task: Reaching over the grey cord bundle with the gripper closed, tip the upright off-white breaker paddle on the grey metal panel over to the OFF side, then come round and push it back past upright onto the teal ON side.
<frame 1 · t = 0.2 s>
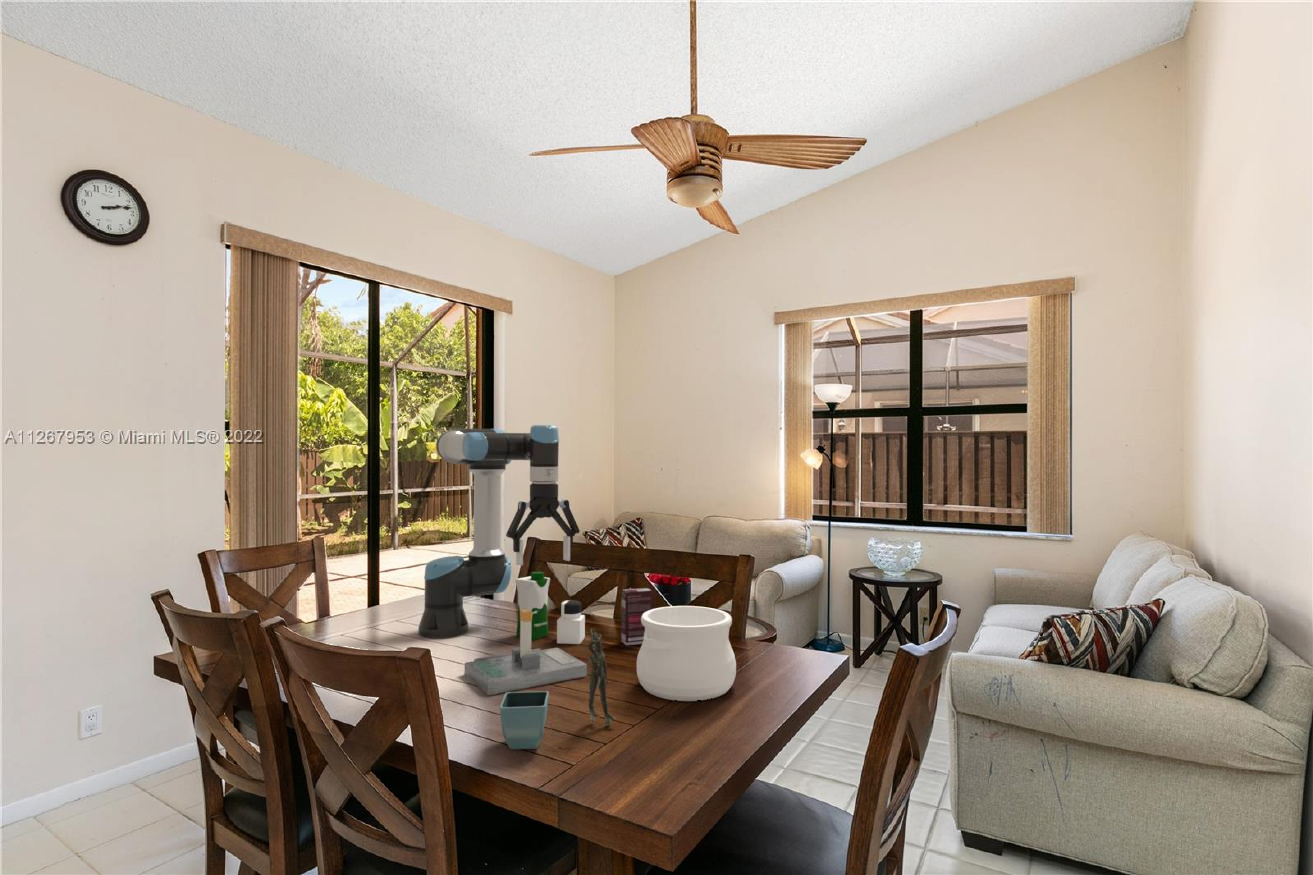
hand: (543, 562, 184), 28 cm above the table, fingers open, 13 cm apart
pot: (686, 688, 169), on the table
panel: (525, 675, 178), on the table
milk carton: (532, 637, 215), on the table
medicine bottle: (571, 641, 210), on the table
statue: (600, 727, 145), on the table
lever: (525, 635, 178), point 10 cm above the table, hinge at 0.0°
flower pot: (524, 745, 136), on the table
supplement box: (636, 643, 208), on the table
cords: (509, 664, 187), on the table
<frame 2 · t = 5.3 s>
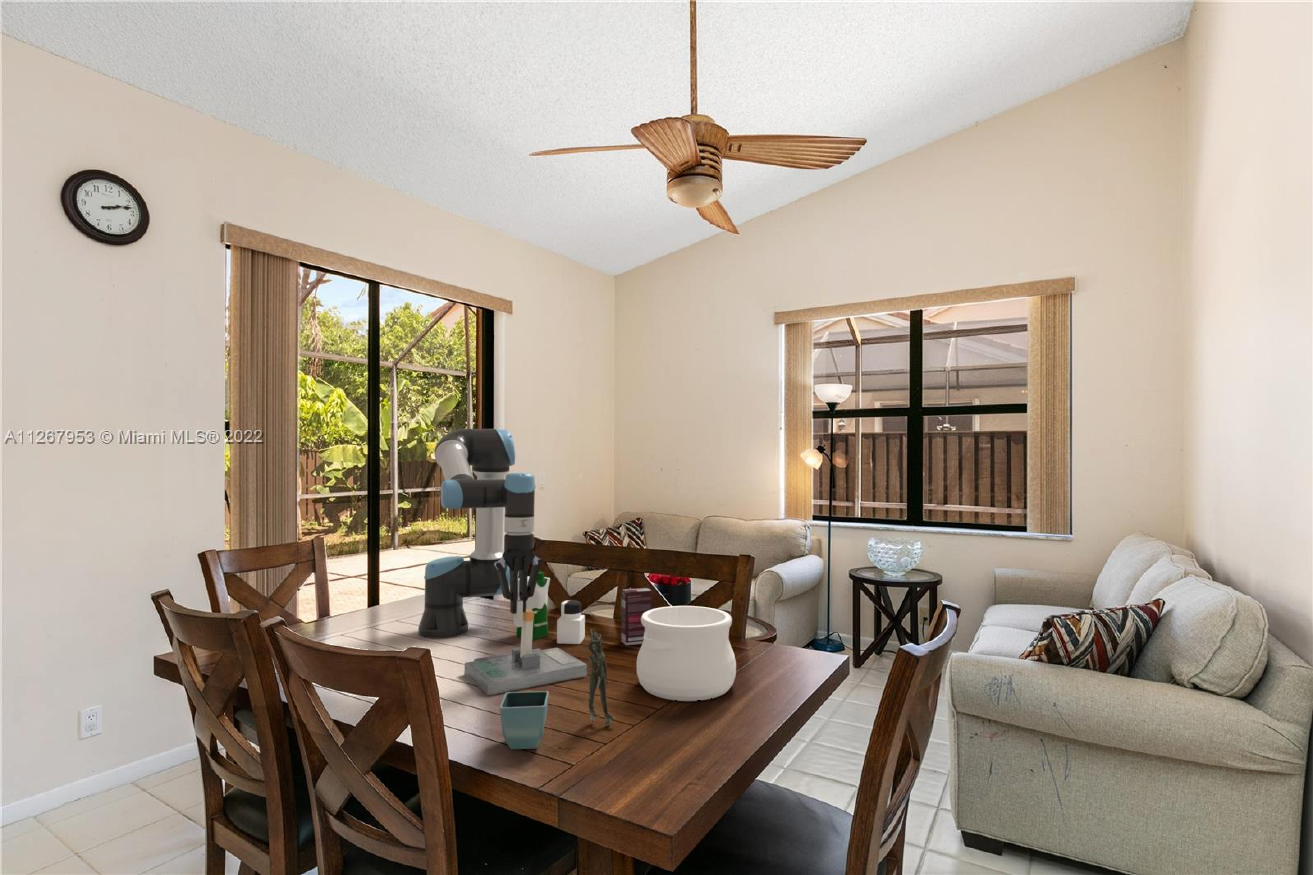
hand: (517, 625, 177), 13 cm above the table, fingers closed
lever: (526, 635, 178), point 10 cm above the table, hinge at -2.8°, touching gripper
everything else where it was.
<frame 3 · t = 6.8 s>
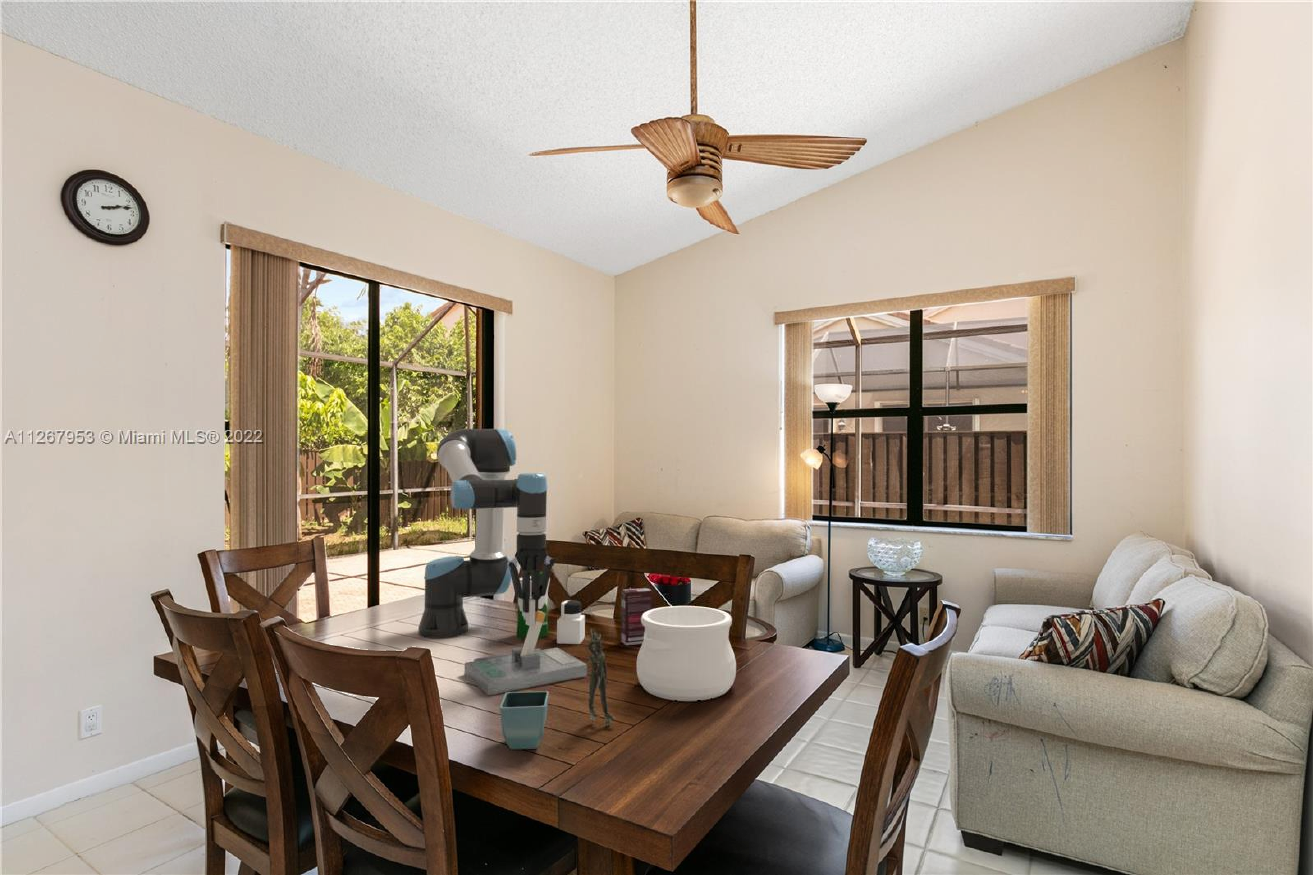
hand: (530, 624, 178), 13 cm above the table, fingers closed
lever: (532, 636, 179), point 10 cm above the table, hinge at -19.0°, touching gripper
everything else where it was.
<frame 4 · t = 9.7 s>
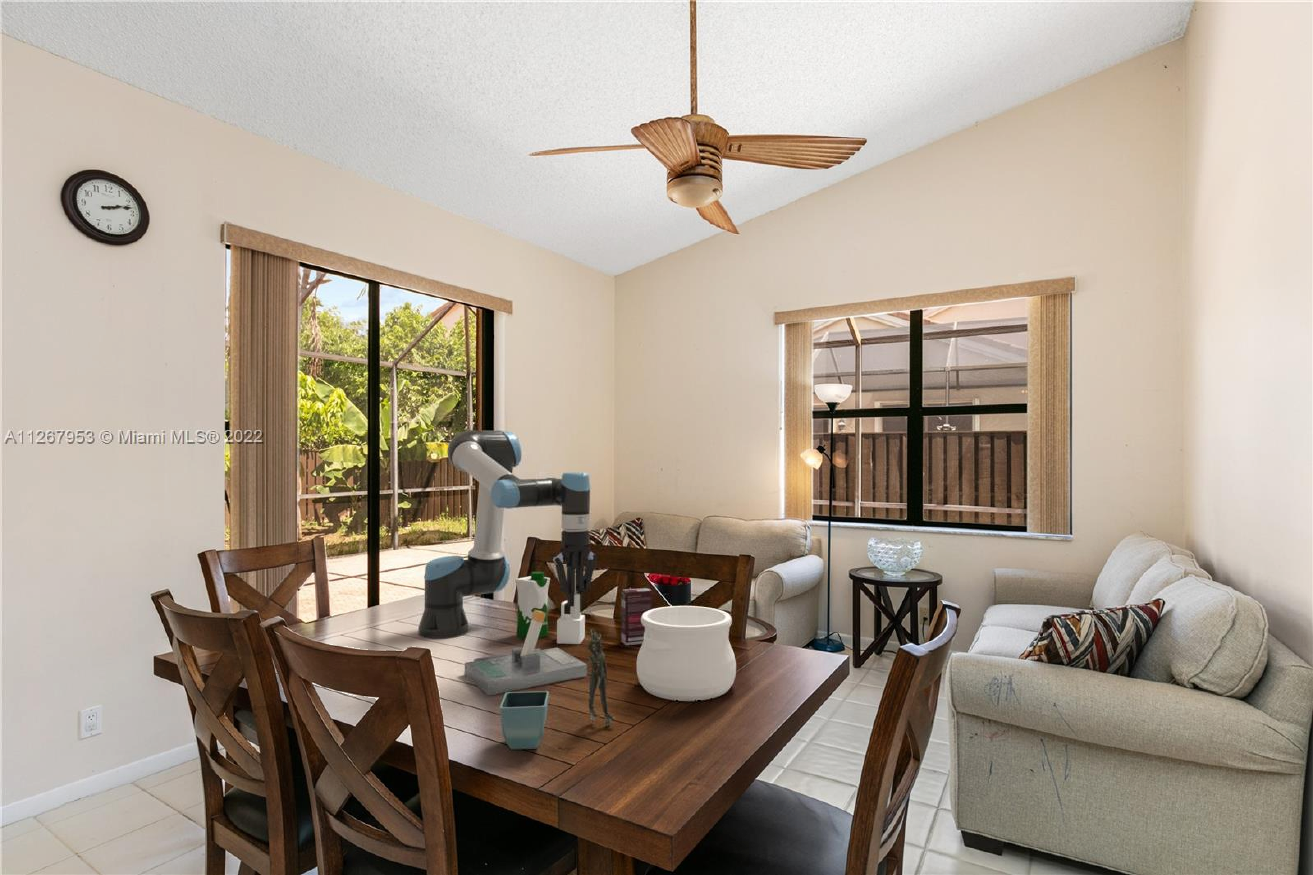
hand: (575, 617, 185), 13 cm above the table, fingers closed
lever: (532, 636, 179), point 10 cm above the table, hinge at -19.2°
everything else where it was.
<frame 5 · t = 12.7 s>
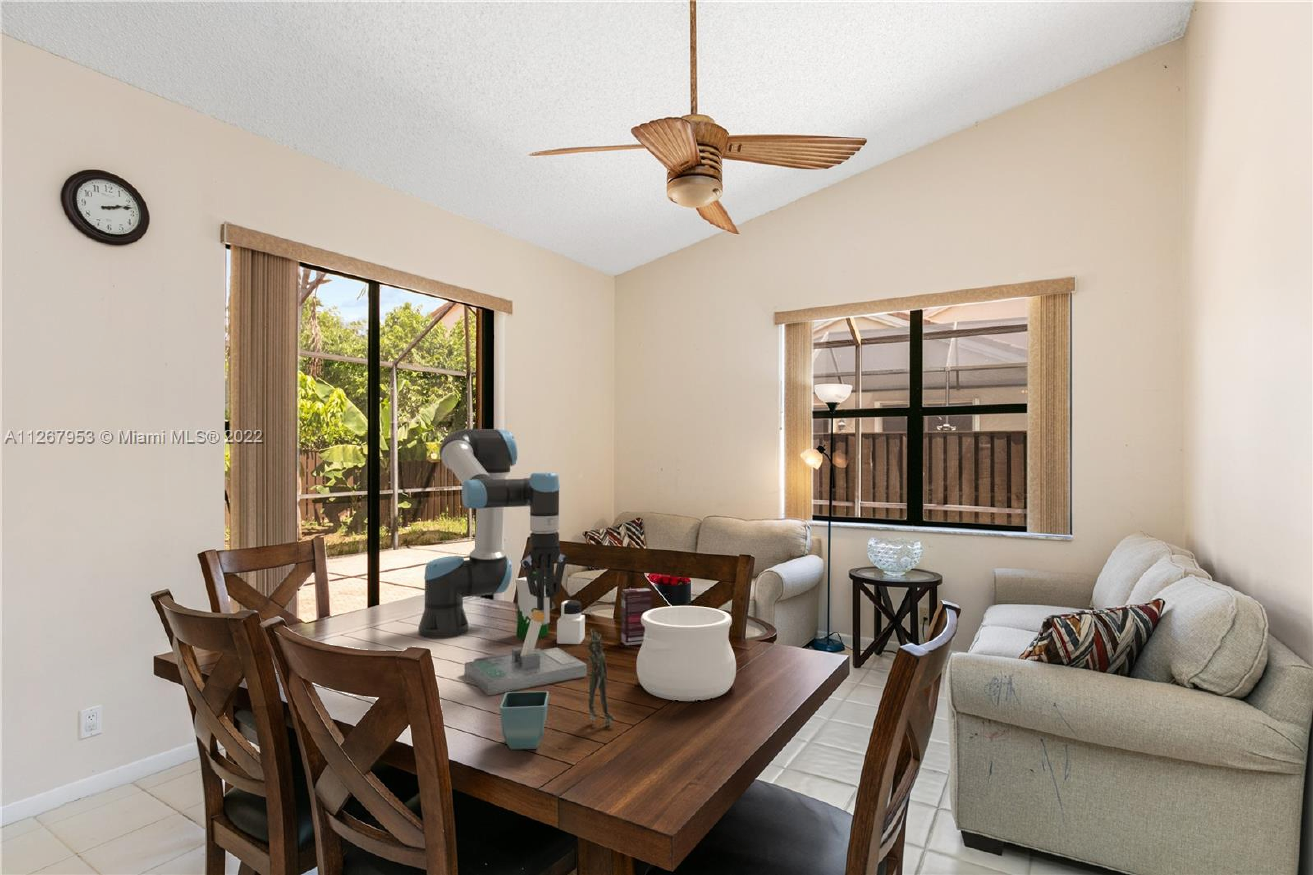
hand: (544, 621, 181), 13 cm above the table, fingers closed
lever: (532, 636, 179), point 10 cm above the table, hinge at -17.8°, touching gripper
everything else where it was.
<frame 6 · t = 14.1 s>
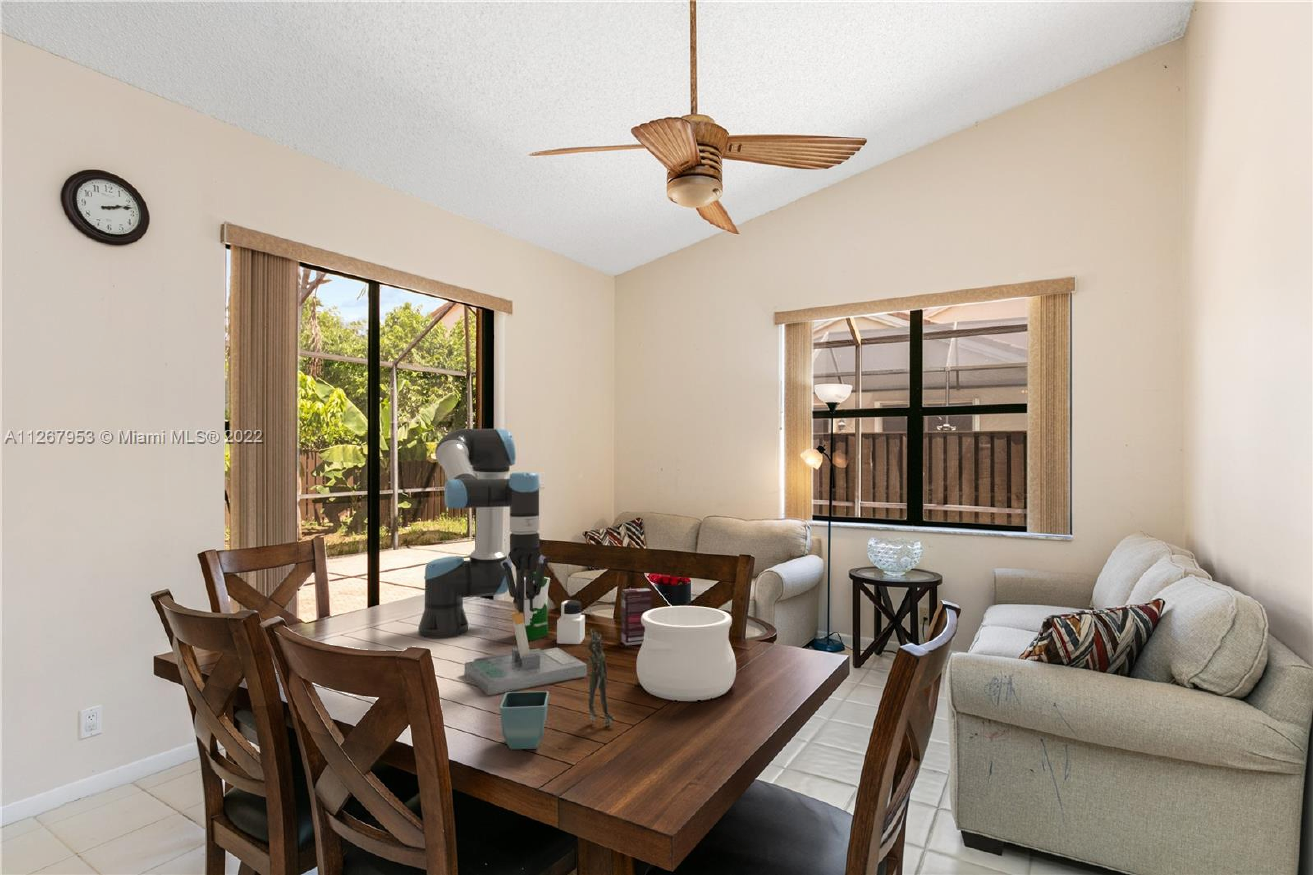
hand: (525, 624, 178), 13 cm above the table, fingers closed
lever: (521, 637, 177), point 10 cm above the table, hinge at 12.1°, touching gripper
everything else where it was.
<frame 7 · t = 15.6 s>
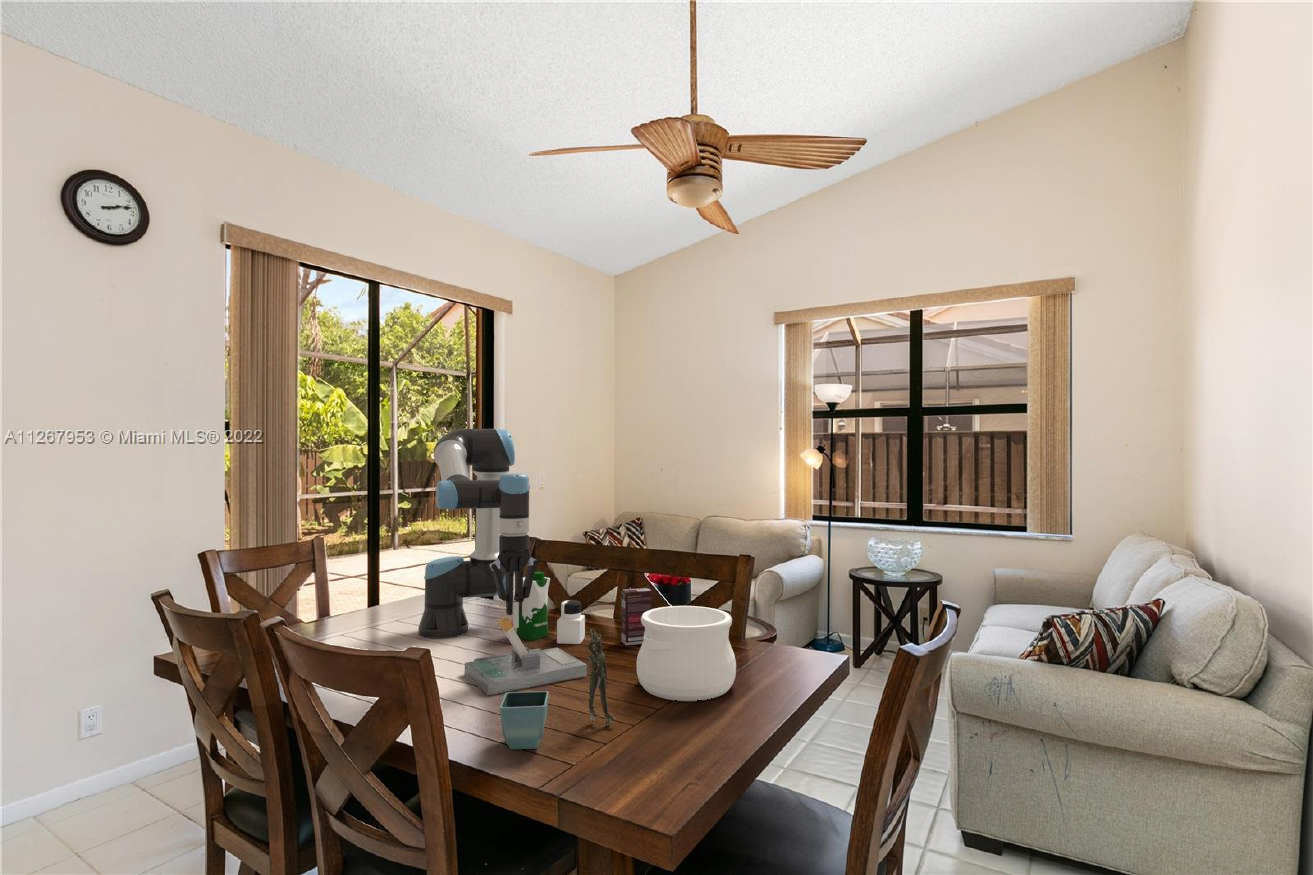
hand: (514, 626, 176), 13 cm above the table, fingers closed
lever: (515, 640, 176), point 9 cm above the table, hinge at 31.0°, touching gripper
everything else where it was.
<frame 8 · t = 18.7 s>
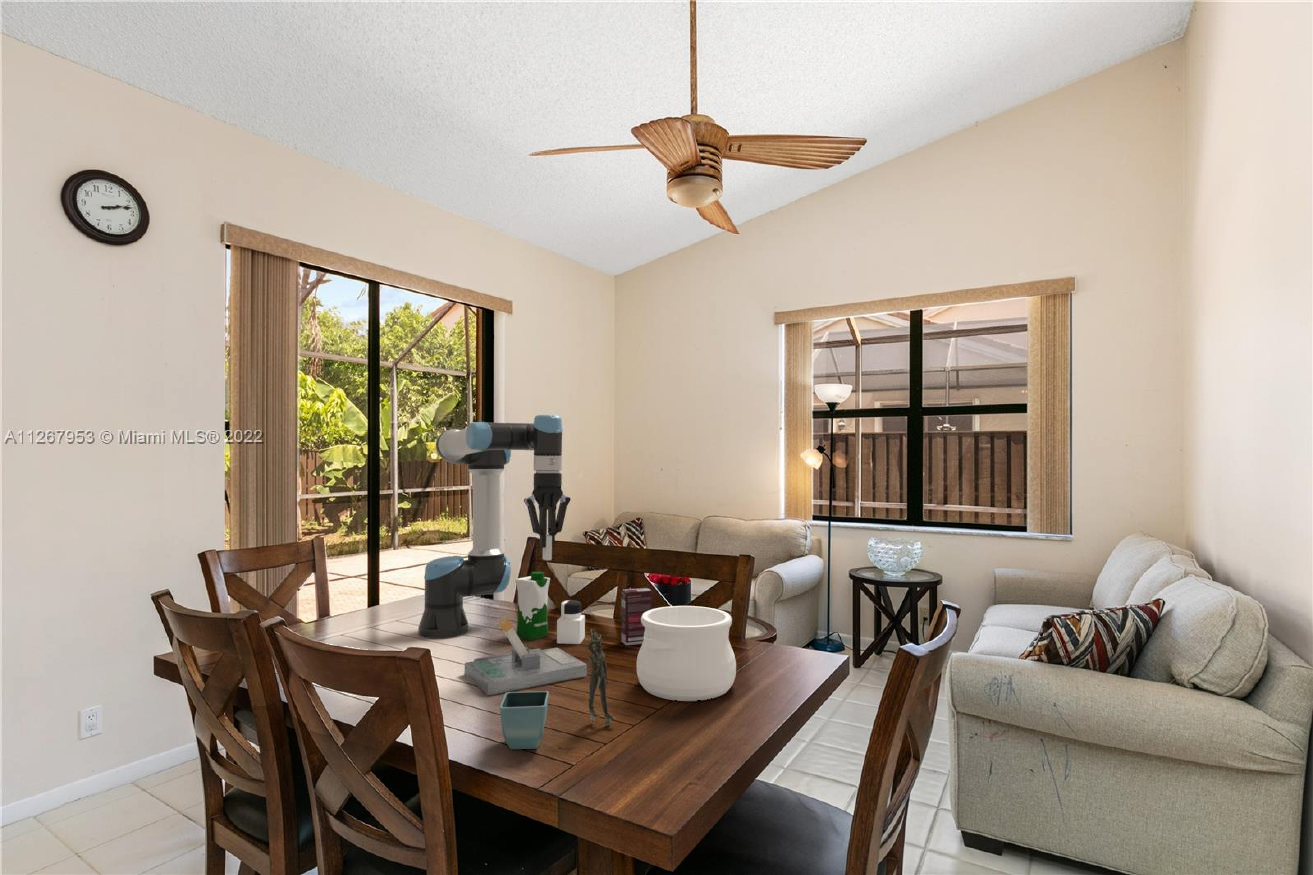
hand: (547, 559, 187), 28 cm above the table, fingers closed
lever: (515, 640, 176), point 9 cm above the table, hinge at 31.2°
everything else where it was.
at the end: lever at +31° (first picture: +0°) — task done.
